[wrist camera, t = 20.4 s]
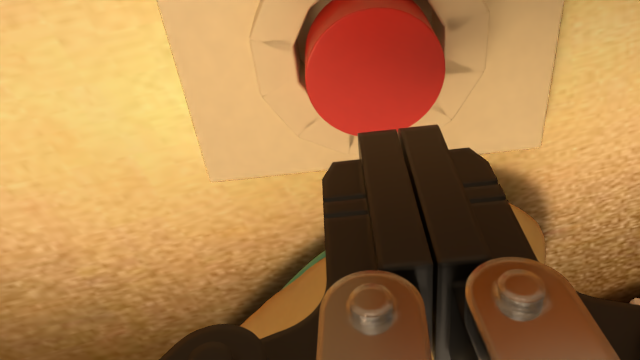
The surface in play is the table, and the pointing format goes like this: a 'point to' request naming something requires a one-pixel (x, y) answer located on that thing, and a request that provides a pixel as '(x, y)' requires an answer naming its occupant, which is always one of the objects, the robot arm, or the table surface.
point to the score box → (293, 101)
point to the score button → (372, 65)
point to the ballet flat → (311, 285)
